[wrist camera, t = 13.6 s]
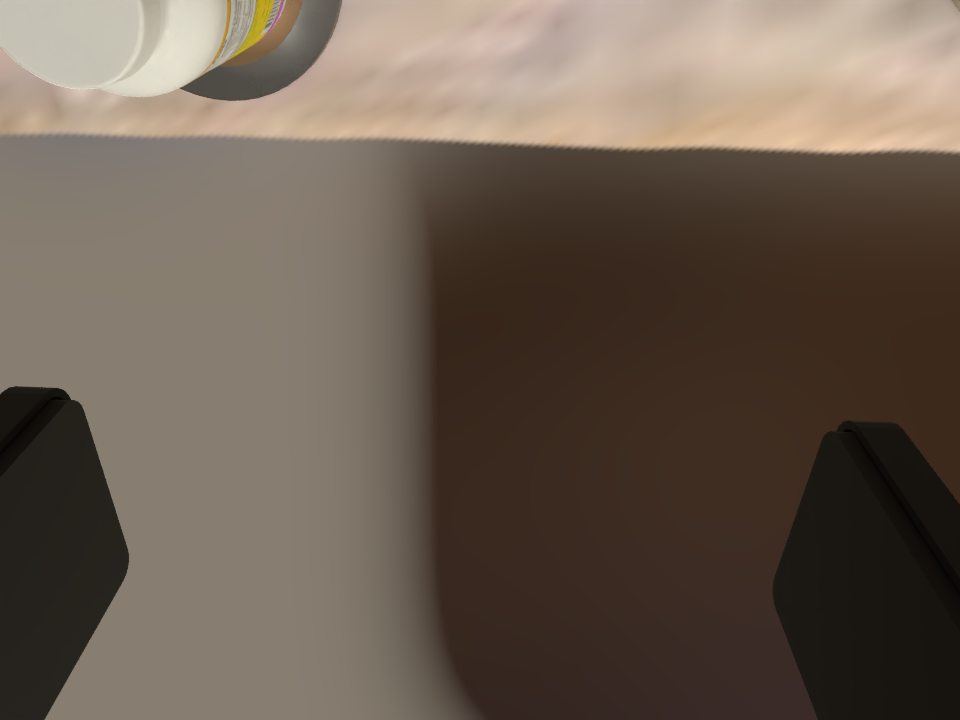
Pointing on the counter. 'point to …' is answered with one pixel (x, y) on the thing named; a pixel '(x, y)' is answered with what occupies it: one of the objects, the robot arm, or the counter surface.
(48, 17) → the supplement bottle
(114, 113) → the counter surface
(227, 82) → the round coaster
